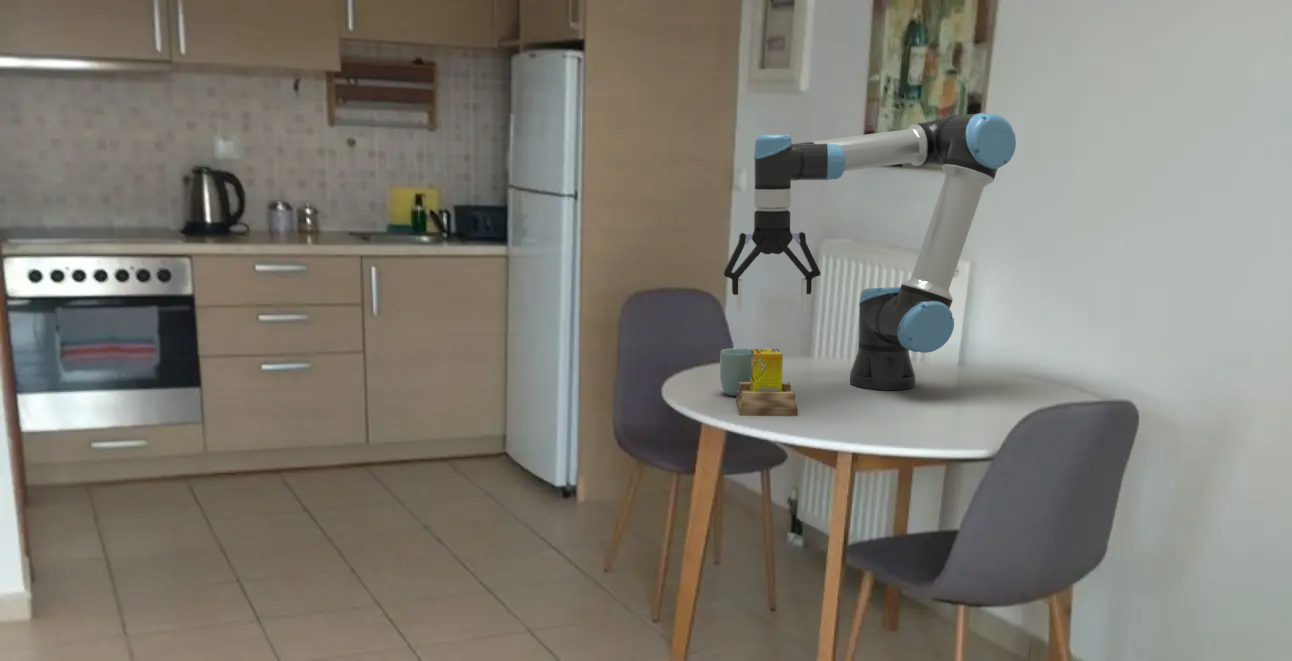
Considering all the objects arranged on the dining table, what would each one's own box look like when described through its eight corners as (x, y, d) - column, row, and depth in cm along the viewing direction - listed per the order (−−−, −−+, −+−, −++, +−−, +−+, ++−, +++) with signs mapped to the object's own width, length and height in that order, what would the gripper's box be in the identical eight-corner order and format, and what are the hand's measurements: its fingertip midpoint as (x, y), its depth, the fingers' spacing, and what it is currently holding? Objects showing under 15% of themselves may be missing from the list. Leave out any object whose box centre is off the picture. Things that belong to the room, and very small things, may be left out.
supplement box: (749, 398, 235) (750, 348, 233) (777, 398, 235) (778, 348, 233) (753, 404, 229) (754, 353, 227) (781, 404, 229) (783, 353, 228)
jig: (791, 401, 239) (791, 381, 238) (797, 415, 226) (798, 394, 225) (736, 401, 239) (736, 381, 238) (739, 415, 226) (740, 394, 225)
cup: (752, 399, 241) (753, 354, 239) (717, 397, 242) (718, 353, 241) (755, 391, 248) (756, 348, 247) (722, 390, 250) (722, 347, 248)
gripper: (829, 207, 231) (827, 306, 235) (711, 209, 231) (711, 307, 235) (834, 209, 224) (833, 311, 227) (713, 211, 224) (713, 313, 227)
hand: (771, 310), depth 231 cm, fingers open, 13 cm apart
